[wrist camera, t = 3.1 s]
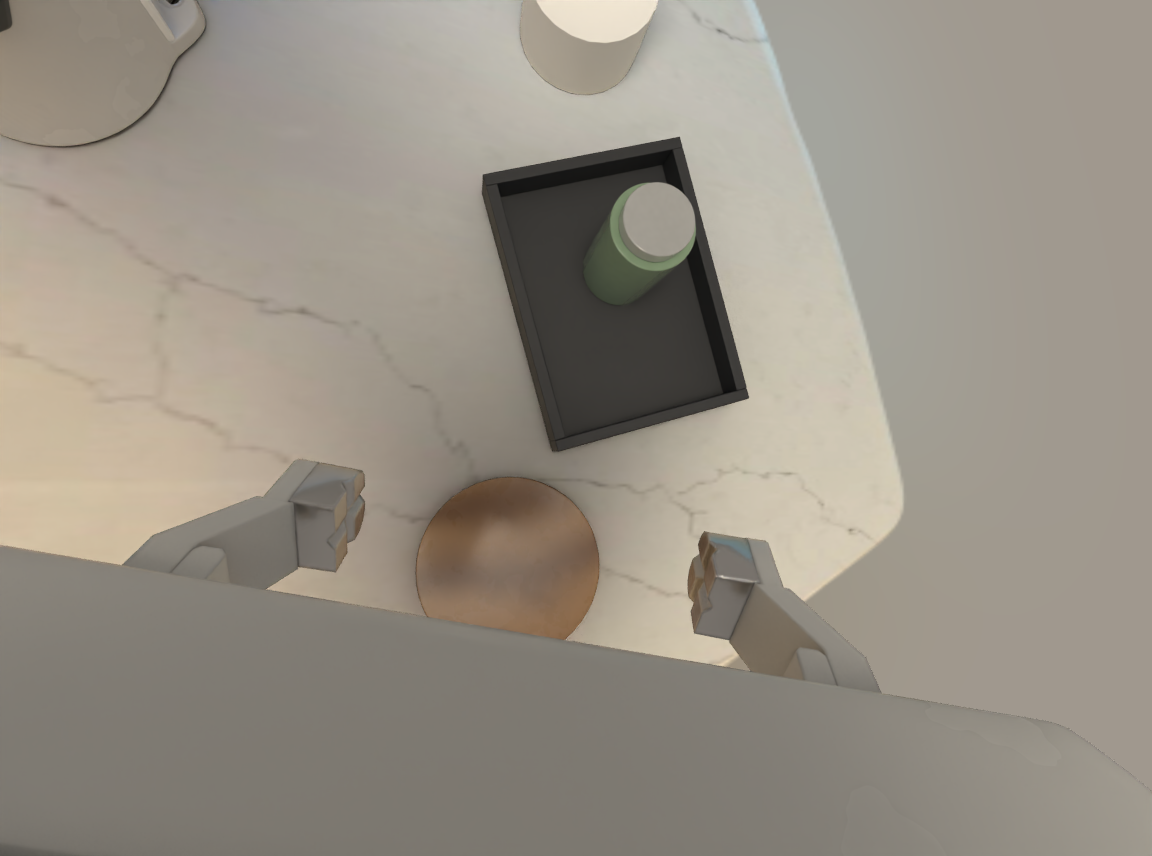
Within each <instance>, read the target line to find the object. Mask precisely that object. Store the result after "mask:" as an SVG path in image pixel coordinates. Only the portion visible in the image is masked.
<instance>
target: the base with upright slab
mask: <svg viewBox="0 0 1152 856" xmlns="http://www.w3.org/2000/svg"><path fill="white" fill-rule="evenodd" d="M657 3H658V0H523V3H522V12H521V20H520V39H521V42H522V46H523V49H524V53H525V55H526V57H527V59H528V60H529V62H530V64H531V65H532V67H533V69H534V70H535V71H536V72H537V73H538V74H539V75H540V76H541V77H542V78H543V79H544V80H545V81H547V82H548V83H550V84H552V85H553V86H555V87H556V88H558V89H561V90H563V91H566V92H569V93H572V94H583V95H590V94H595V93H600V92H604V91H606V90H608V89H610V88H612V87H614V86H616V85H617V84H618V83H619V82H620V81H621V80H622V79H623V78H624V77H625V76H626V75H627V73H628V71H629V69H630V67H631V66H632V64H633V62H634V59H635V57H636V55H637V52H638V50H639V48H640V45H641V43H642V41H643V38H644V36H645V33H646V31H647V29H648V26H649V24H650V22H651V19H652V17H653V15H654V12H655V10H656V7H657Z"/></svg>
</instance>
